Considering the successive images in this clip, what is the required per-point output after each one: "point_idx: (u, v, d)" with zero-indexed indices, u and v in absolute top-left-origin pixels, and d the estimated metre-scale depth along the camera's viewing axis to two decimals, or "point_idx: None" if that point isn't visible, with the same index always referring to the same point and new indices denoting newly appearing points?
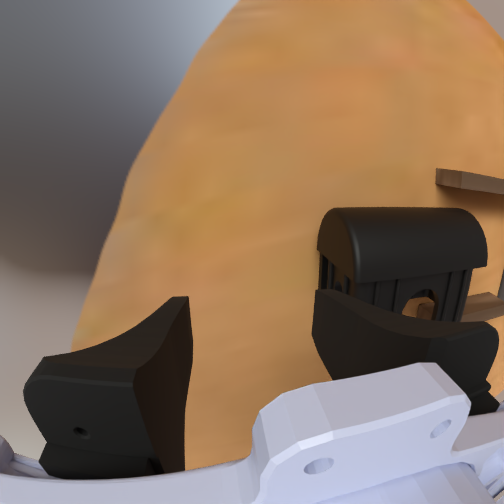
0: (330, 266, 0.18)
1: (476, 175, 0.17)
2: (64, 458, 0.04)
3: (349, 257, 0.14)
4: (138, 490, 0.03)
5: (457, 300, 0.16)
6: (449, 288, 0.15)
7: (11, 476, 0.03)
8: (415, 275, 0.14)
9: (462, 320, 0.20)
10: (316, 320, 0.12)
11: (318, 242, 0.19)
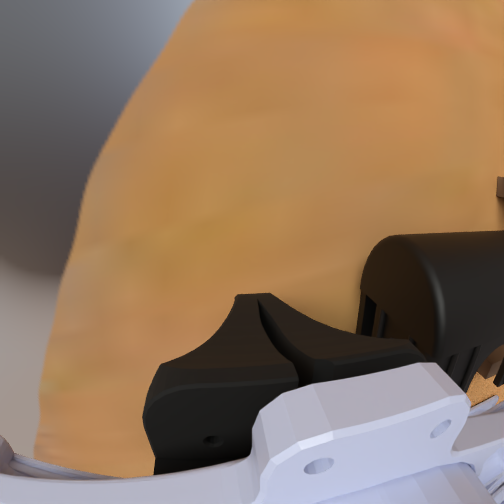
0: (382, 316, 0.12)
1: None
2: None
3: (428, 320, 0.08)
4: (138, 490, 0.03)
5: None
6: None
7: (11, 476, 0.03)
8: (502, 334, 0.08)
9: None
10: None
11: (363, 280, 0.13)
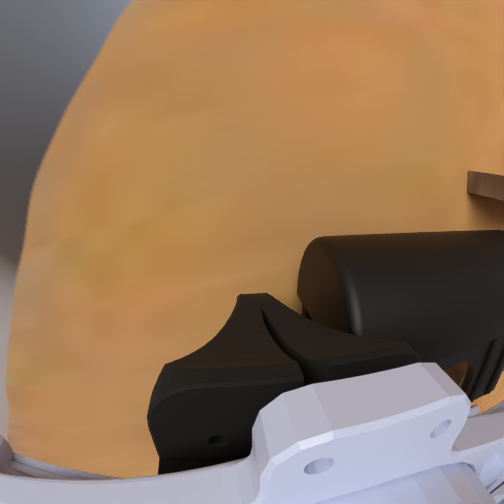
0: None
1: None
2: None
3: None
4: (138, 490, 0.03)
5: (496, 367, 0.09)
6: (490, 355, 0.09)
7: (11, 476, 0.03)
8: (450, 354, 0.08)
9: None
10: None
11: (298, 284, 0.12)
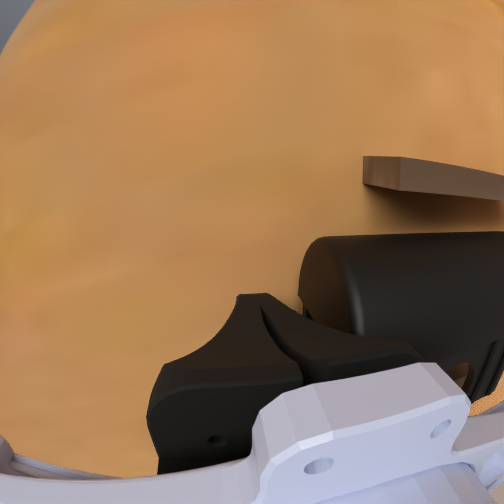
0: None
1: (435, 165, 0.10)
2: None
3: None
4: (138, 490, 0.03)
5: (497, 368, 0.09)
6: (491, 357, 0.09)
7: (11, 476, 0.03)
8: (452, 355, 0.08)
9: None
10: None
11: (300, 285, 0.12)
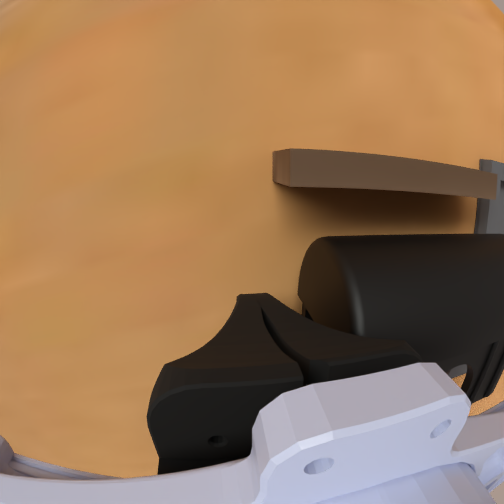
0: None
1: (341, 154, 0.09)
2: None
3: None
4: (138, 490, 0.03)
5: (495, 370, 0.09)
6: (490, 358, 0.09)
7: (11, 476, 0.03)
8: (451, 356, 0.08)
9: None
10: None
11: (299, 285, 0.12)
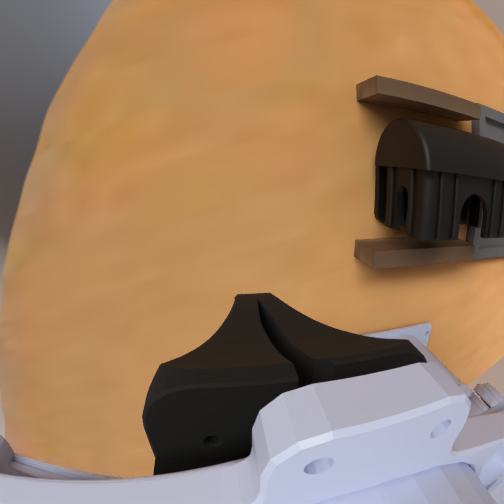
0: (391, 175, 0.18)
1: (398, 81, 0.16)
2: None
3: (418, 150, 0.14)
4: (138, 490, 0.03)
5: (500, 213, 0.16)
6: (494, 198, 0.15)
7: (11, 476, 0.03)
8: (470, 174, 0.14)
9: (410, 256, 0.19)
10: None
11: (377, 157, 0.19)
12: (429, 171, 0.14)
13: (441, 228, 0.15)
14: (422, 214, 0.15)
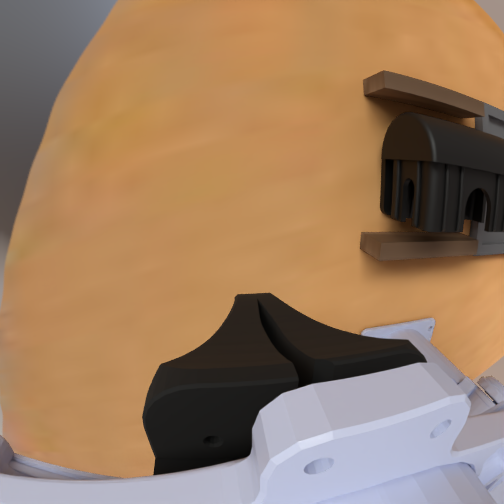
0: (398, 168, 0.18)
1: (405, 77, 0.16)
2: None
3: (425, 142, 0.14)
4: (138, 490, 0.03)
5: None
6: (498, 193, 0.15)
7: (11, 476, 0.03)
8: (475, 167, 0.14)
9: (415, 249, 0.19)
10: None
11: (383, 151, 0.19)
12: (435, 163, 0.14)
13: (447, 220, 0.15)
14: (428, 205, 0.15)
